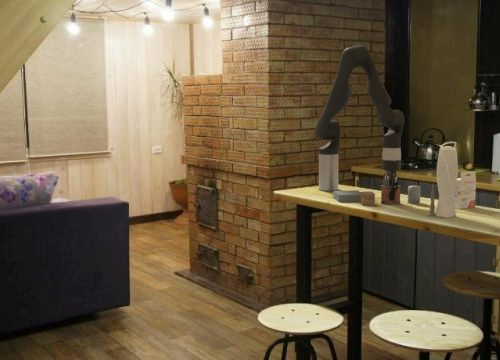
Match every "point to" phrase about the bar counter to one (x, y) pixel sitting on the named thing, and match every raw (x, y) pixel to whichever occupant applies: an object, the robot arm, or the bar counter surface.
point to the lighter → (386, 194)
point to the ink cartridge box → (465, 190)
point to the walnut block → (367, 198)
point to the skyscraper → (445, 182)
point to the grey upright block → (414, 194)
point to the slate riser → (347, 196)
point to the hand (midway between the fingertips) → (390, 199)
